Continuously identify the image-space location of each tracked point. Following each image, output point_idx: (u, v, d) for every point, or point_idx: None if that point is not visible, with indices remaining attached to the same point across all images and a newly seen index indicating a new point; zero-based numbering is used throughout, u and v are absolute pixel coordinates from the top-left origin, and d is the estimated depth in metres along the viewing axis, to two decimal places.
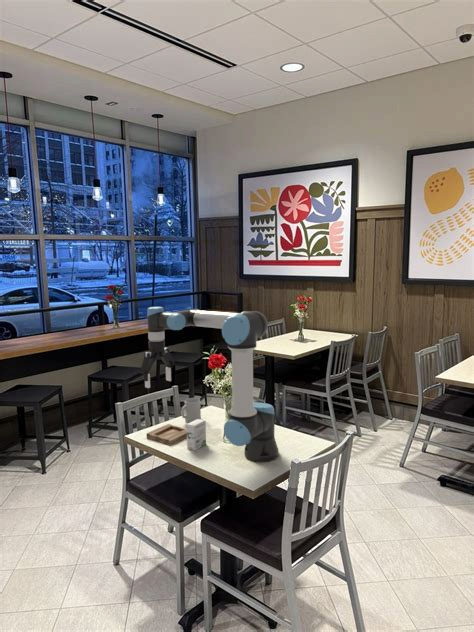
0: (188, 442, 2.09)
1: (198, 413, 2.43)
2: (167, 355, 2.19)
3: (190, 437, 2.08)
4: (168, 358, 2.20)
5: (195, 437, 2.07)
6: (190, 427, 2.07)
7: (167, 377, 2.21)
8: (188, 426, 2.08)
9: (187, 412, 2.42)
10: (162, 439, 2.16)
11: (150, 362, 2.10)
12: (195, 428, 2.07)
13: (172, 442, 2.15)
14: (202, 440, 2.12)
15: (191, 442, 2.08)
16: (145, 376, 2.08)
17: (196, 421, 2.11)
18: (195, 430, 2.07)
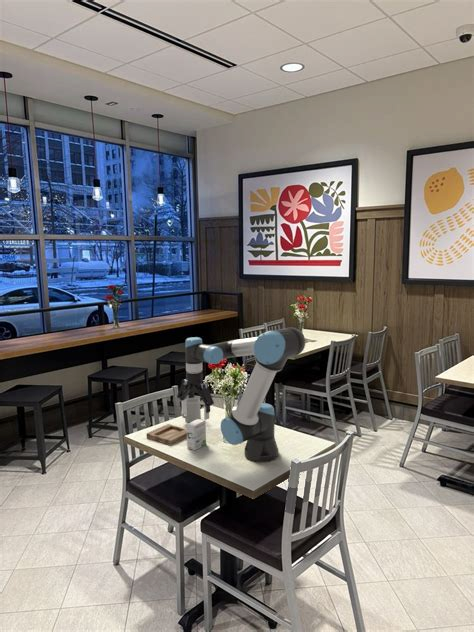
0: (188, 442, 2.09)
1: (198, 413, 2.43)
2: None
3: (190, 437, 2.08)
4: None
5: (195, 437, 2.07)
6: (190, 427, 2.07)
7: None
8: (188, 426, 2.08)
9: (187, 412, 2.42)
10: (162, 439, 2.16)
11: None
12: (195, 428, 2.07)
13: (172, 442, 2.15)
14: (202, 440, 2.12)
15: (191, 442, 2.08)
16: None
17: (196, 421, 2.11)
18: (195, 430, 2.07)
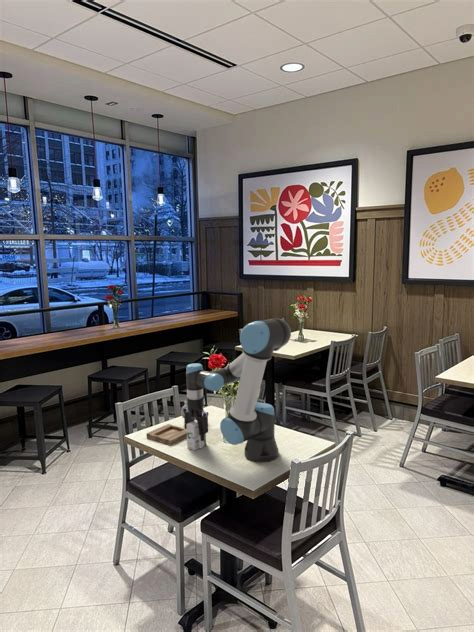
0: (188, 441, 2.09)
1: None
2: None
3: (190, 437, 2.08)
4: None
5: (195, 437, 2.07)
6: (190, 427, 2.07)
7: None
8: (188, 426, 2.08)
9: None
10: (162, 439, 2.16)
11: None
12: (195, 428, 2.07)
13: (172, 442, 2.15)
14: None
15: (191, 442, 2.08)
16: None
17: (196, 421, 2.11)
18: (195, 430, 2.07)
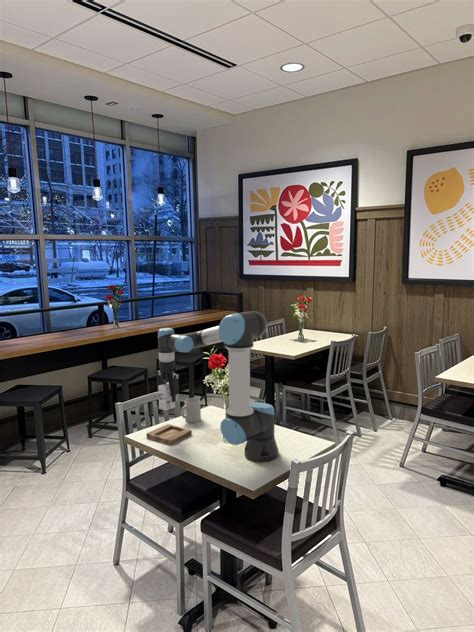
0: (159, 402, 2.19)
1: (198, 413, 2.43)
2: None
3: (162, 398, 2.18)
4: None
5: (166, 397, 2.17)
6: (161, 388, 2.17)
7: None
8: (160, 387, 2.18)
9: (187, 412, 2.42)
10: (162, 439, 2.16)
11: None
12: (166, 389, 2.17)
13: (172, 442, 2.15)
14: None
15: (162, 402, 2.18)
16: None
17: (168, 383, 2.21)
18: (166, 391, 2.17)
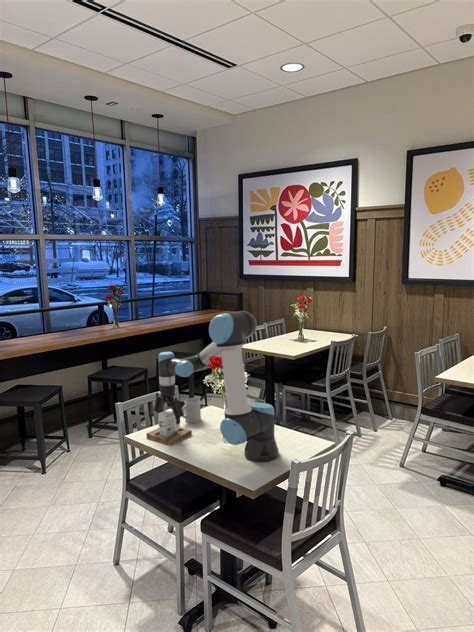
0: (160, 430, 2.21)
1: (198, 413, 2.43)
2: None
3: (162, 426, 2.20)
4: None
5: (166, 425, 2.19)
6: (161, 416, 2.20)
7: None
8: (160, 415, 2.20)
9: (187, 412, 2.42)
10: (162, 439, 2.16)
11: None
12: (166, 417, 2.19)
13: (172, 442, 2.15)
14: (174, 428, 2.24)
15: (163, 430, 2.20)
16: (157, 414, 2.26)
17: (168, 410, 2.24)
18: (166, 418, 2.19)
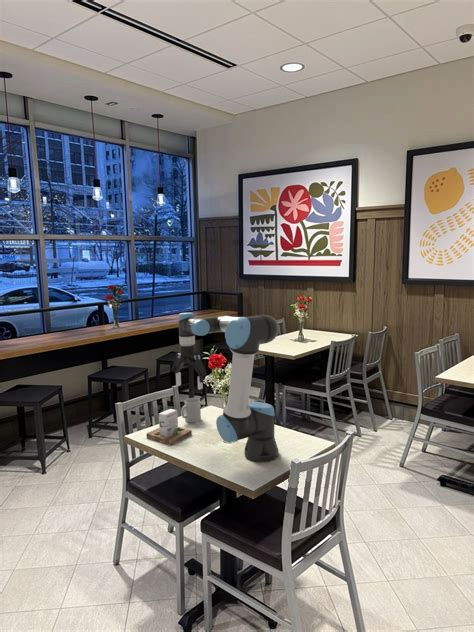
0: (160, 430, 2.21)
1: (198, 413, 2.43)
2: None
3: (162, 426, 2.20)
4: None
5: (166, 425, 2.19)
6: (162, 416, 2.19)
7: None
8: (160, 415, 2.20)
9: (187, 412, 2.42)
10: (162, 439, 2.16)
11: None
12: (167, 417, 2.19)
13: (172, 442, 2.15)
14: (174, 429, 2.24)
15: (163, 430, 2.20)
16: (175, 374, 2.27)
17: (168, 411, 2.24)
18: (167, 419, 2.19)
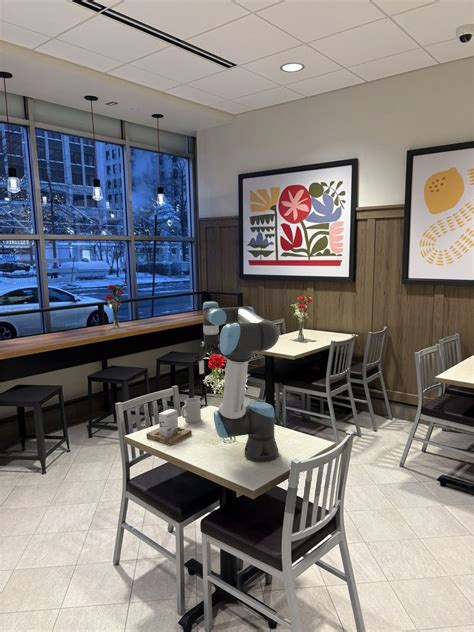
0: (160, 430, 2.21)
1: (198, 413, 2.43)
2: None
3: (162, 426, 2.20)
4: None
5: (166, 425, 2.19)
6: (162, 416, 2.19)
7: None
8: (160, 415, 2.20)
9: (187, 412, 2.42)
10: (162, 439, 2.16)
11: None
12: (167, 417, 2.19)
13: (172, 442, 2.15)
14: (174, 429, 2.24)
15: (163, 430, 2.20)
16: (198, 362, 2.30)
17: (168, 411, 2.24)
18: (167, 419, 2.19)
